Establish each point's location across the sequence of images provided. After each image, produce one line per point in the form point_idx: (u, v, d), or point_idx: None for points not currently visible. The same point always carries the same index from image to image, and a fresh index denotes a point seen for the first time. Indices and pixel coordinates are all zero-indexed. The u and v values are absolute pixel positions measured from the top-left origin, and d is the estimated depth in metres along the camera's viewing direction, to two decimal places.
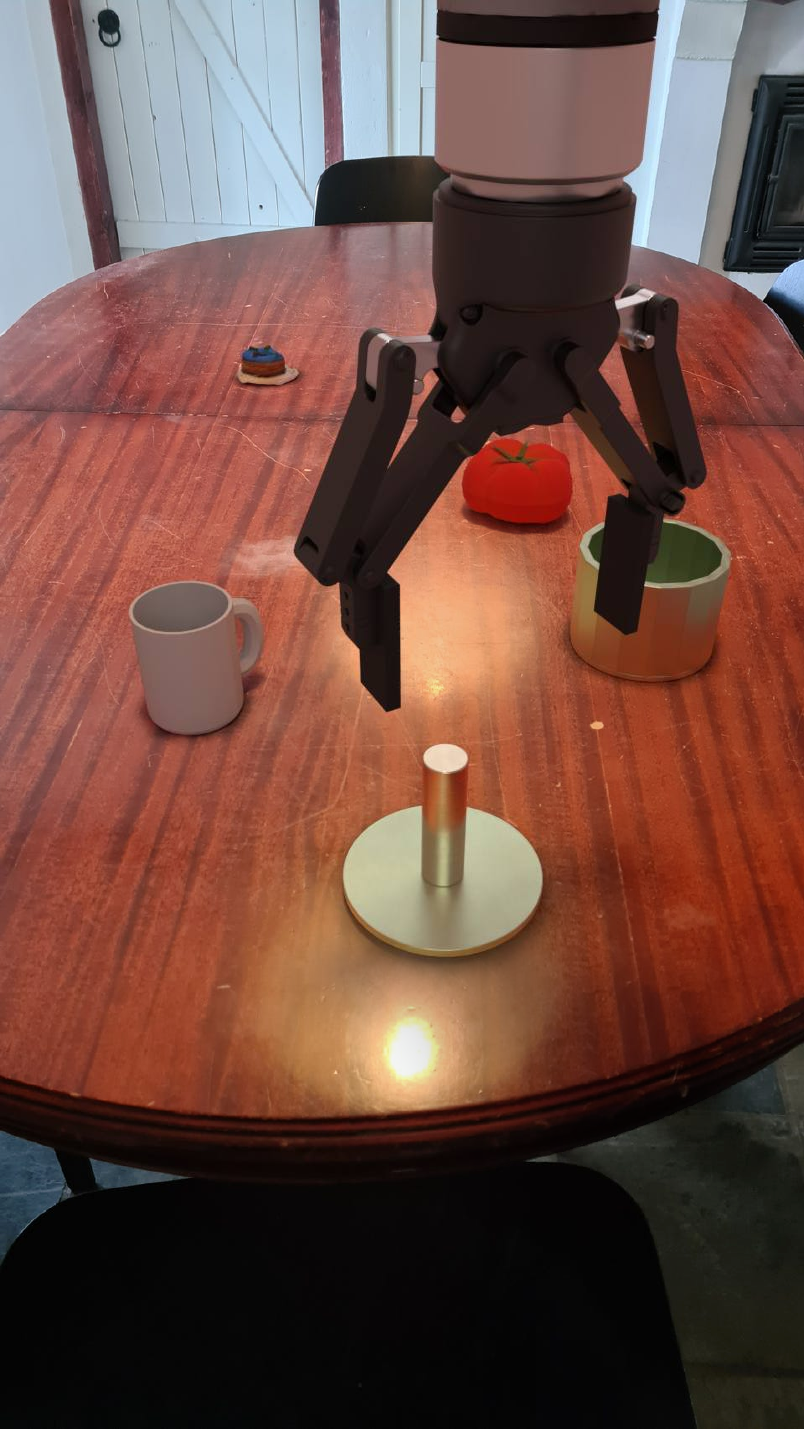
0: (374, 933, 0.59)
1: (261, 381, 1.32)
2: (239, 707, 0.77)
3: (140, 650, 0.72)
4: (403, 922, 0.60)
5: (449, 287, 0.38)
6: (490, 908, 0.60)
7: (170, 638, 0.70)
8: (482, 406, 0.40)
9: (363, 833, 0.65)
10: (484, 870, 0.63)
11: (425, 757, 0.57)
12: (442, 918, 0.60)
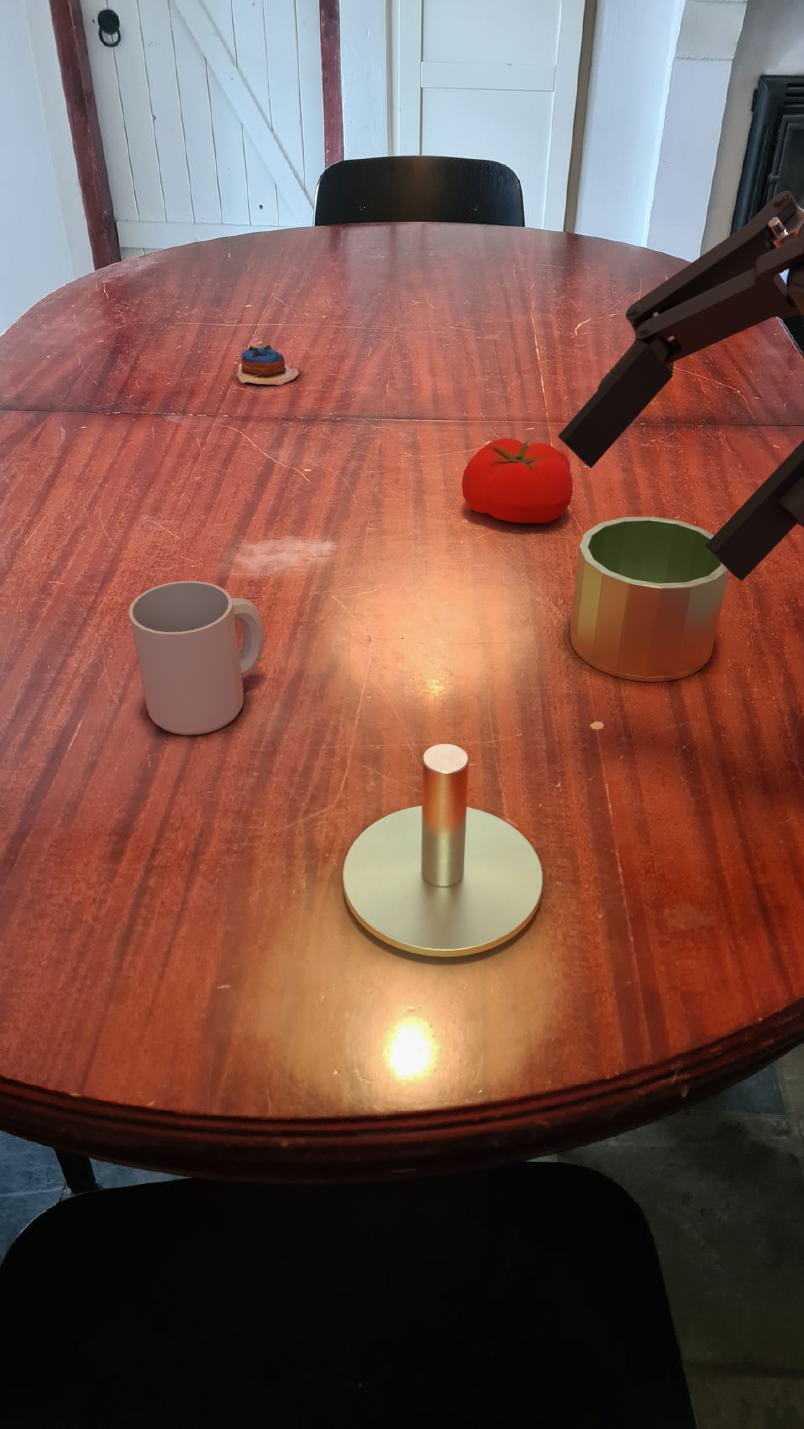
0: (374, 933, 0.59)
1: (261, 381, 1.32)
2: (239, 707, 0.77)
3: (140, 650, 0.72)
4: (403, 922, 0.60)
5: None
6: (490, 908, 0.60)
7: (170, 638, 0.70)
8: (787, 243, 0.50)
9: (363, 833, 0.65)
10: (484, 870, 0.63)
11: (425, 757, 0.57)
12: (442, 918, 0.60)
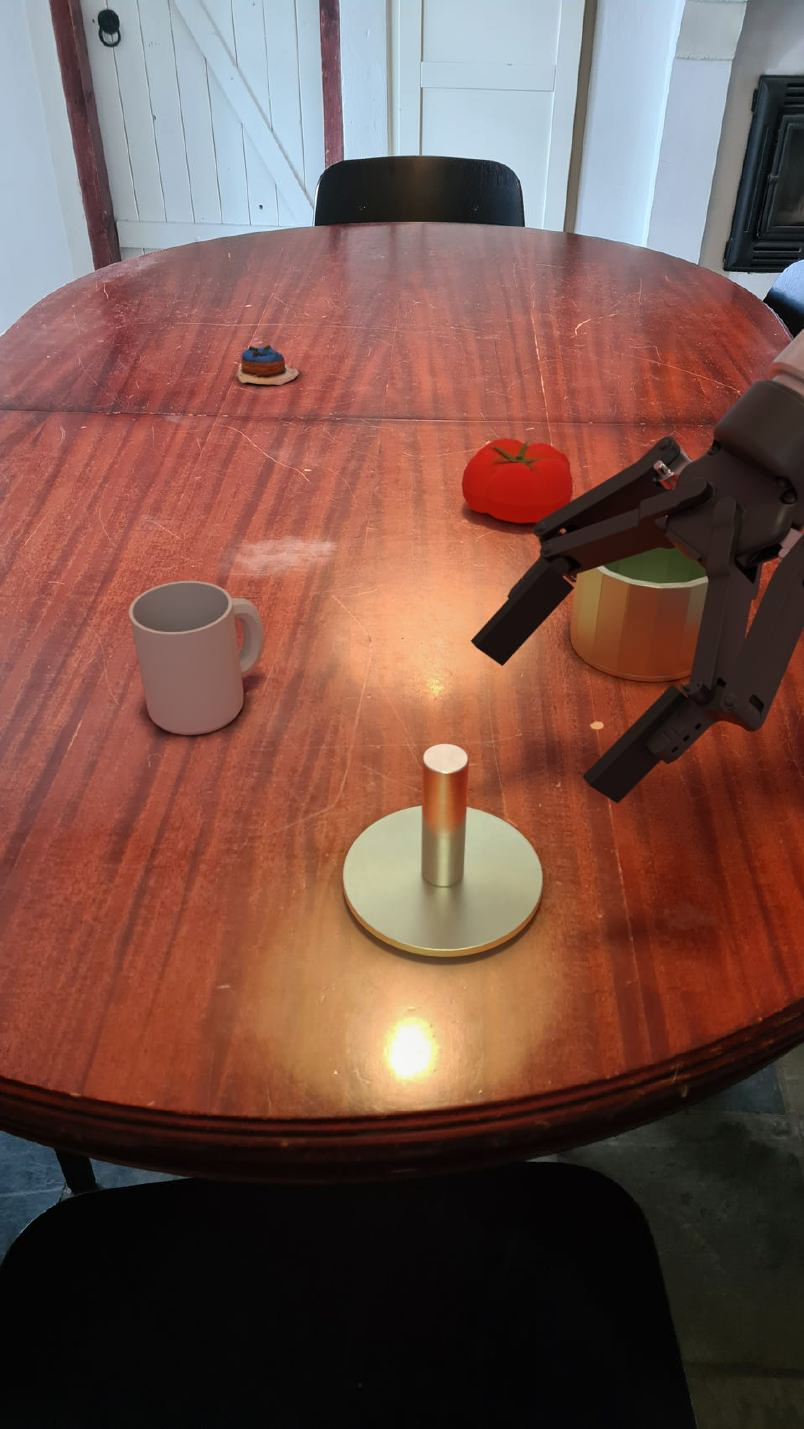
0: (374, 933, 0.59)
1: (261, 381, 1.32)
2: (239, 707, 0.77)
3: (140, 650, 0.72)
4: (403, 922, 0.60)
5: None
6: (490, 908, 0.60)
7: (170, 638, 0.70)
8: (666, 492, 0.56)
9: (363, 833, 0.65)
10: (484, 870, 0.63)
11: (425, 757, 0.57)
12: (442, 918, 0.60)
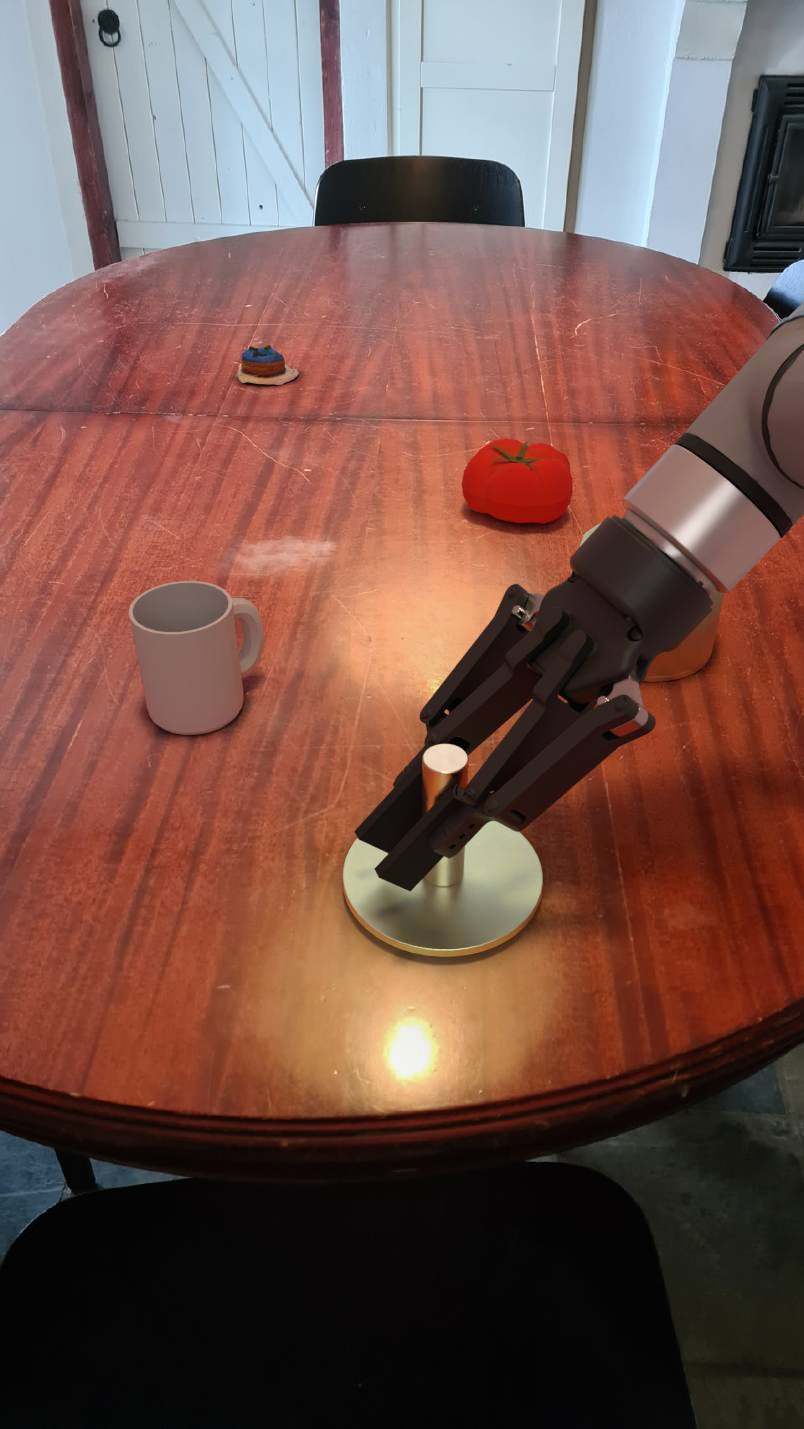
0: (374, 933, 0.59)
1: (261, 381, 1.32)
2: (239, 707, 0.77)
3: (140, 650, 0.72)
4: (403, 922, 0.60)
5: None
6: (490, 908, 0.60)
7: (170, 638, 0.70)
8: (525, 636, 0.57)
9: None
10: (484, 870, 0.63)
11: (425, 757, 0.57)
12: (442, 918, 0.60)
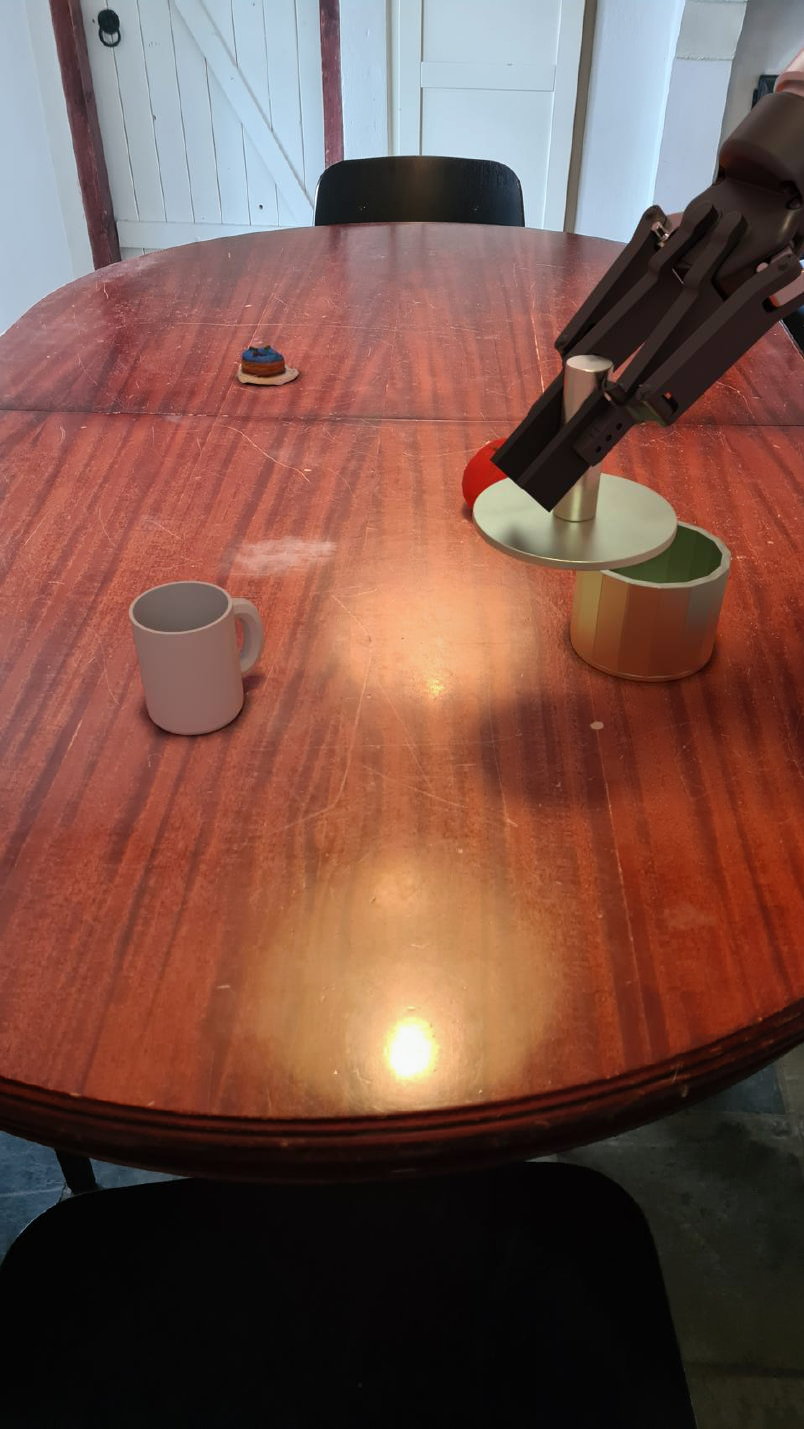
0: (513, 554, 0.59)
1: (261, 381, 1.32)
2: (239, 707, 0.77)
3: (140, 650, 0.72)
4: (542, 544, 0.59)
5: None
6: (628, 535, 0.60)
7: (170, 638, 0.70)
8: (671, 238, 0.57)
9: (488, 488, 0.65)
10: (616, 511, 0.62)
11: (570, 362, 0.57)
12: (581, 541, 0.59)
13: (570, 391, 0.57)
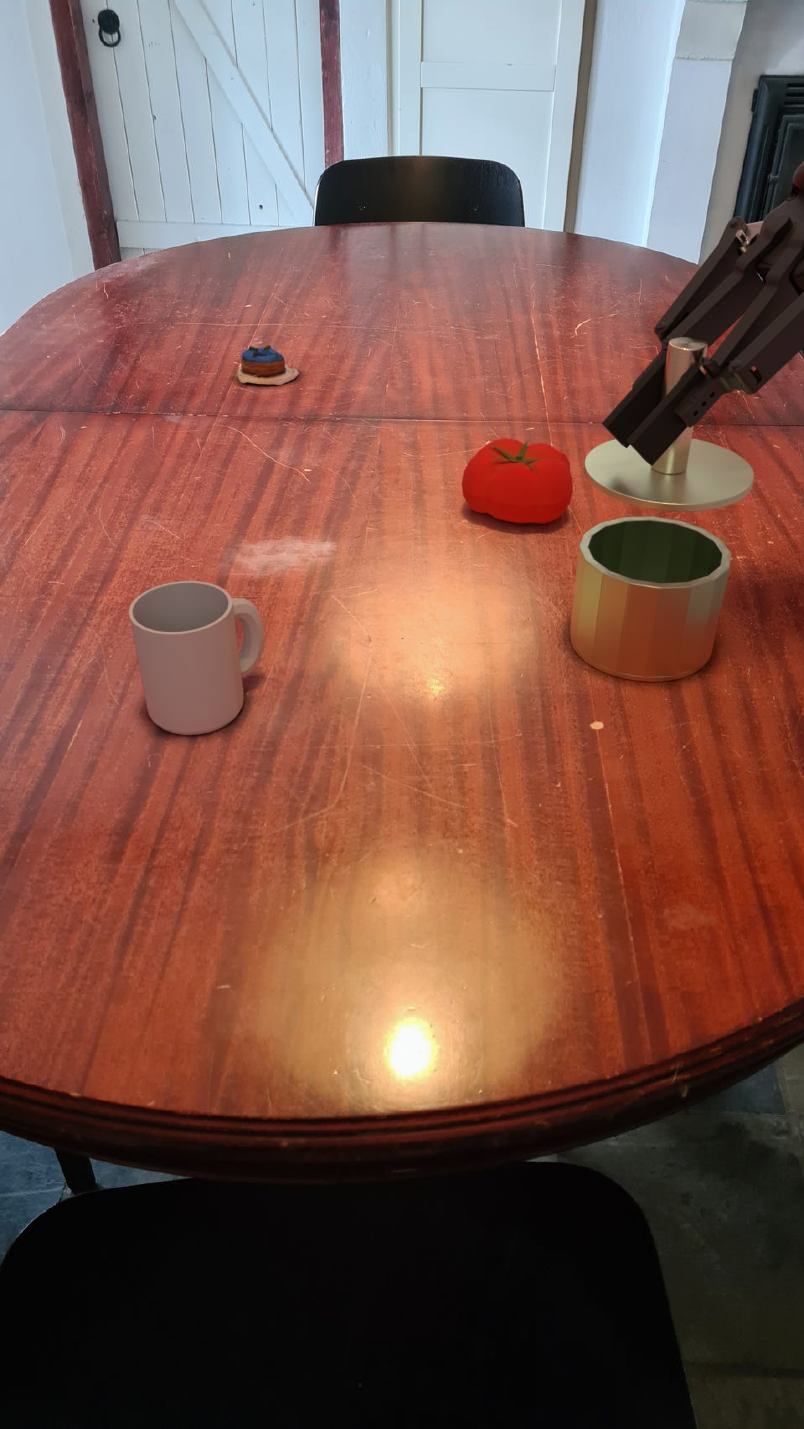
0: (622, 499, 0.72)
1: (261, 381, 1.32)
2: (239, 707, 0.77)
3: (140, 650, 0.72)
4: (646, 491, 0.73)
5: None
6: (715, 484, 0.73)
7: (170, 638, 0.70)
8: (754, 243, 0.70)
9: (594, 449, 0.78)
10: (703, 466, 0.76)
11: (672, 343, 0.70)
12: (677, 489, 0.73)
13: (672, 366, 0.70)
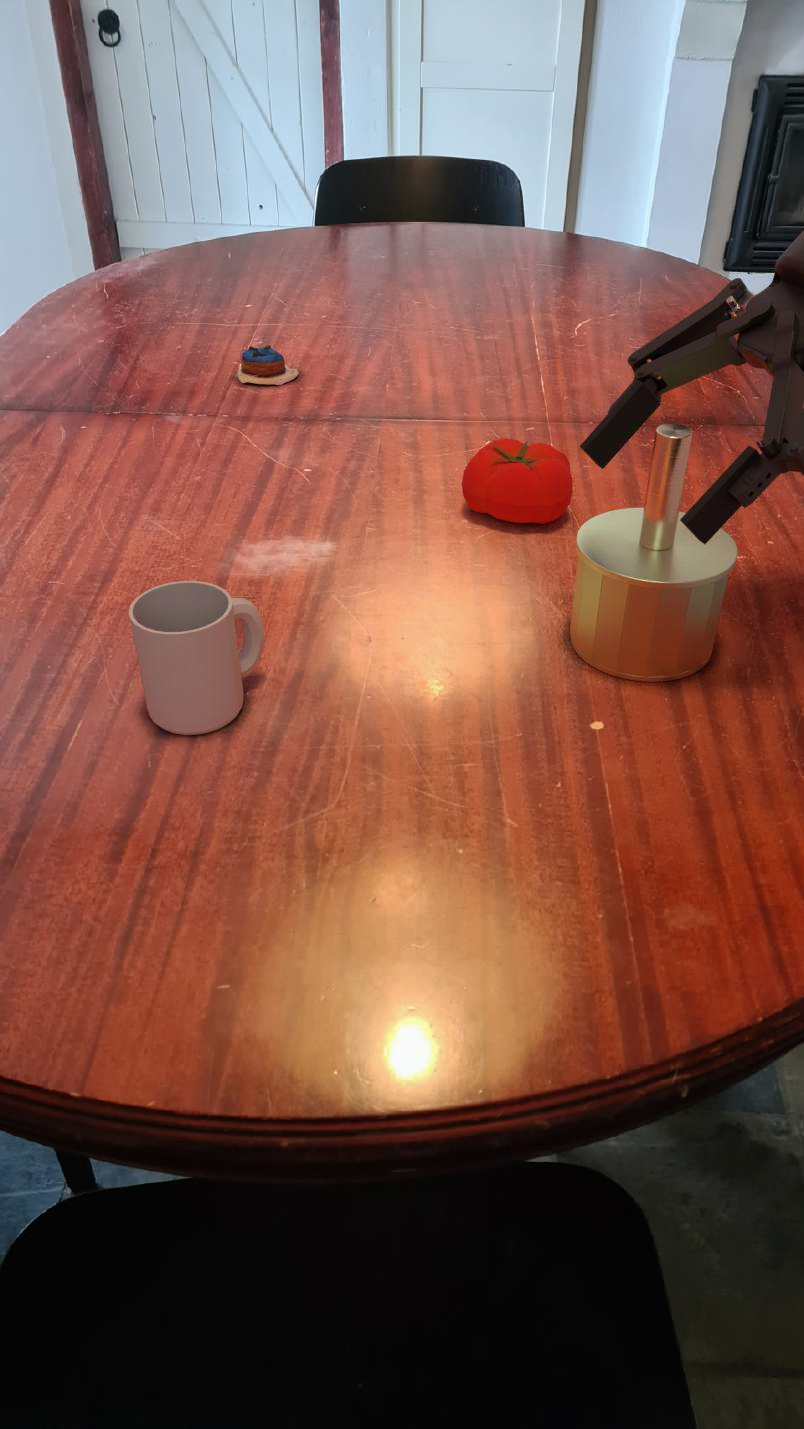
0: (612, 576, 0.76)
1: (261, 381, 1.32)
2: (239, 707, 0.77)
3: (140, 650, 0.72)
4: (634, 568, 0.76)
5: None
6: (700, 561, 0.77)
7: (170, 638, 0.70)
8: (738, 316, 0.74)
9: (586, 523, 0.82)
10: (689, 542, 0.80)
11: (659, 430, 0.74)
12: (664, 566, 0.77)
13: (659, 452, 0.74)
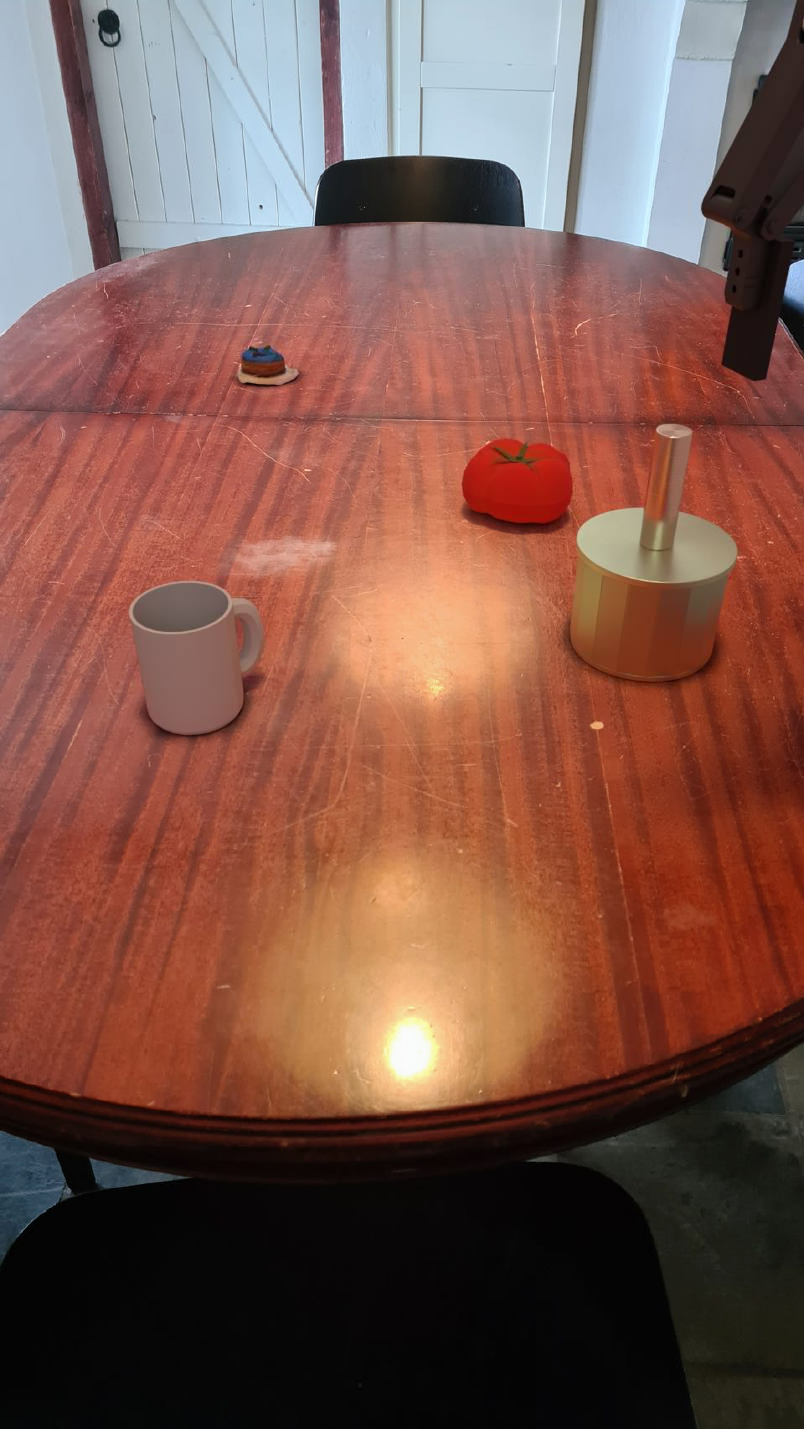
0: (612, 576, 0.76)
1: (261, 381, 1.32)
2: (239, 707, 0.77)
3: (140, 650, 0.72)
4: (634, 568, 0.76)
5: None
6: (700, 561, 0.77)
7: (170, 638, 0.70)
8: None
9: (586, 523, 0.82)
10: (689, 542, 0.80)
11: (659, 430, 0.74)
12: (664, 566, 0.77)
13: (659, 452, 0.74)
